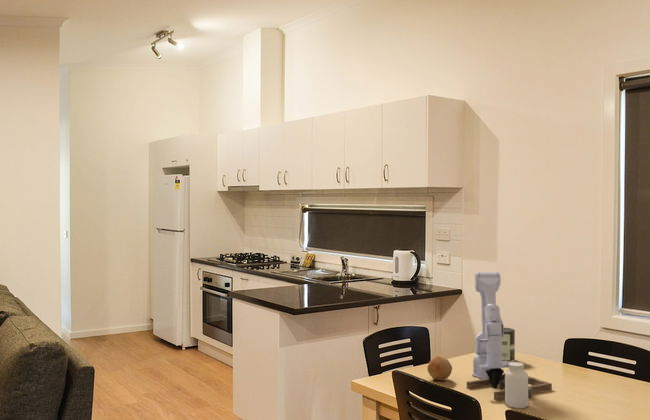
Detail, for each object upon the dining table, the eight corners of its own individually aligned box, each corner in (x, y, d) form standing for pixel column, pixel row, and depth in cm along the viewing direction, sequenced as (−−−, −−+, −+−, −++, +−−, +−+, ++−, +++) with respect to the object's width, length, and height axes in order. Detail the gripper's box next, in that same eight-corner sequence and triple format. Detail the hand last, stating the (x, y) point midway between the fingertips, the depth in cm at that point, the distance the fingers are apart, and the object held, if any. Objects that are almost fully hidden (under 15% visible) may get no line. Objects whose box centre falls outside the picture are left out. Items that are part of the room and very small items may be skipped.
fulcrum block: (523, 397, 229) (523, 388, 229) (523, 395, 231) (523, 386, 231) (531, 398, 228) (531, 389, 228) (531, 395, 231) (531, 387, 231)
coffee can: (506, 356, 290) (506, 326, 290) (519, 361, 280) (519, 331, 280) (487, 357, 287) (487, 328, 287) (499, 363, 277) (499, 332, 277)
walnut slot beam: (466, 387, 241) (466, 381, 241) (519, 378, 253) (519, 372, 253) (496, 400, 226) (496, 393, 226) (551, 389, 238) (551, 383, 238)
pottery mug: (530, 396, 232) (521, 378, 230) (507, 405, 234) (497, 388, 232) (523, 379, 244) (514, 362, 242) (501, 388, 246) (492, 371, 244)
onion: (453, 383, 246) (453, 359, 246) (428, 383, 248) (428, 358, 247) (451, 377, 256) (451, 353, 256) (426, 376, 257) (426, 352, 257)
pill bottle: (501, 402, 223) (501, 361, 223) (521, 400, 225) (521, 360, 224) (511, 409, 216) (511, 367, 215) (532, 408, 217) (532, 366, 216)
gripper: (486, 357, 229) (486, 393, 229) (516, 352, 236) (516, 387, 236) (474, 353, 236) (474, 388, 236) (503, 348, 242) (503, 383, 242)
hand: (494, 387), depth 236 cm, fingers closed
